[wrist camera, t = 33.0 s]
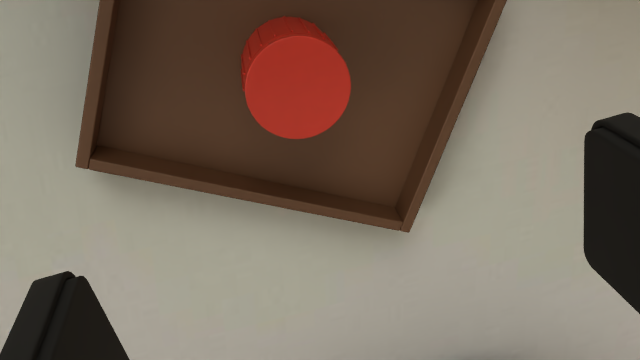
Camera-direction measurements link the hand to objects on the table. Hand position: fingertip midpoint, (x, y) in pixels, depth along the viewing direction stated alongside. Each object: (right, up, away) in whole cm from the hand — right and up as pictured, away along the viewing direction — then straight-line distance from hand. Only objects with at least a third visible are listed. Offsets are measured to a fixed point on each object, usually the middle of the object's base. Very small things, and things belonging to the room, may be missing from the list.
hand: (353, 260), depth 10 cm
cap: (-2, +6, +14) cm, 15 cm away
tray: (-2, +7, +14) cm, 16 cm away
